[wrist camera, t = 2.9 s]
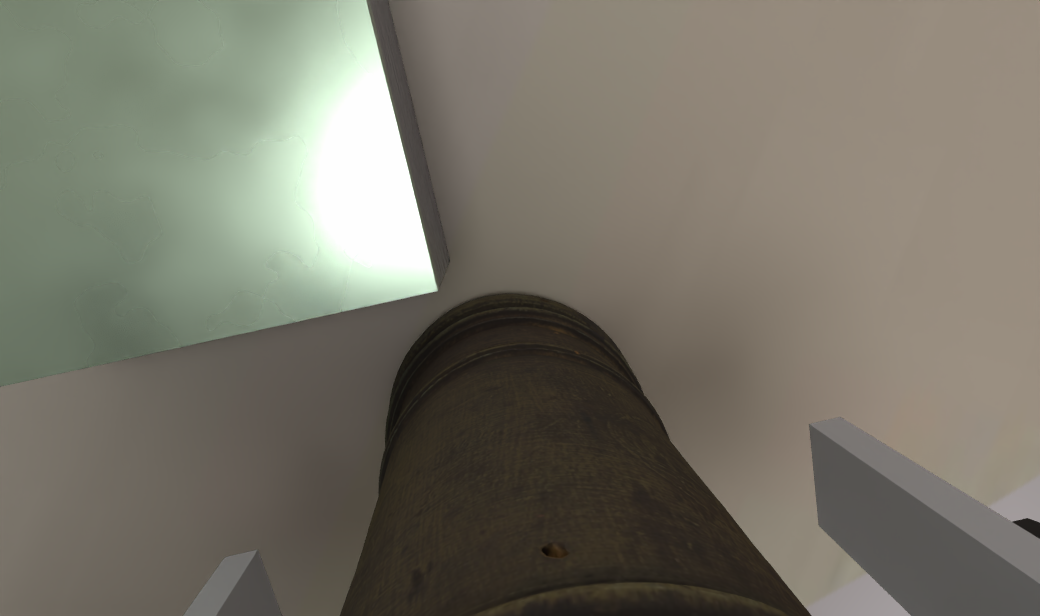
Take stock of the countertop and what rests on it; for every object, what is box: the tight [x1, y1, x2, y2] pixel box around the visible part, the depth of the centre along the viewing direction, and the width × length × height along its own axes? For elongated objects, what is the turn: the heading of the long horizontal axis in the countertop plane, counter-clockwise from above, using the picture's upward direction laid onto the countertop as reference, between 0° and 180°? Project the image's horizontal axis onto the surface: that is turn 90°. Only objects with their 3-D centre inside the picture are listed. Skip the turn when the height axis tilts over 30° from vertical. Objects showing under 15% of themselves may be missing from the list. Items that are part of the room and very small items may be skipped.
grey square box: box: [0, 0, 450, 387], centre depth 13 cm, size 12×13×6 cm
